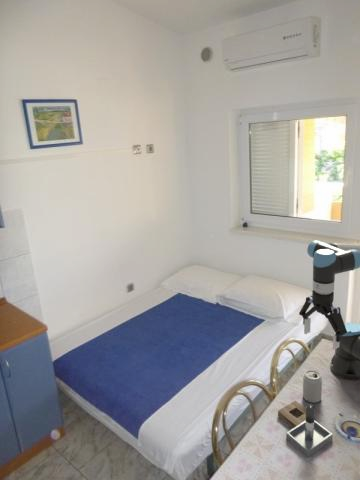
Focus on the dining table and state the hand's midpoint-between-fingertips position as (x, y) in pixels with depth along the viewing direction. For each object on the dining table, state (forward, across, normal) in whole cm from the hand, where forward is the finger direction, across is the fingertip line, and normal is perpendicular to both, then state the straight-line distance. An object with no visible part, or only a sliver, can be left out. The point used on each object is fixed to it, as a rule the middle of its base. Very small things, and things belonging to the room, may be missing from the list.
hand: (321, 340), depth 146 cm
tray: (+32, +9, -16) cm, 37 cm away
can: (+32, -5, +2) cm, 32 cm away
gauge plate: (+32, -1, -12) cm, 34 cm away
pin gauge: (+31, +9, -16) cm, 36 cm away
